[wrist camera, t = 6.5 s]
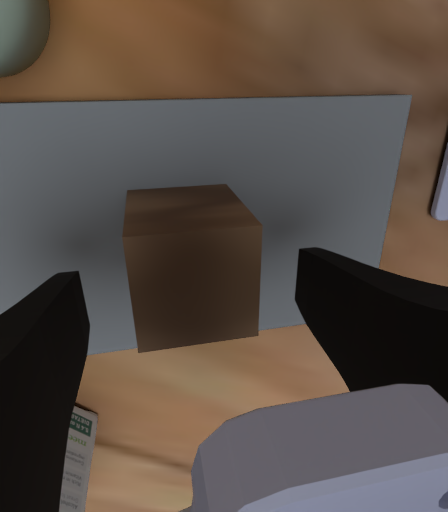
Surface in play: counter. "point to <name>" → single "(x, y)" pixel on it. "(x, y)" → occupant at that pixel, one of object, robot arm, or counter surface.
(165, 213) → the walnut block
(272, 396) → the counter surface
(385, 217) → the slate mat
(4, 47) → the sage cylinder
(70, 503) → the syrup box
